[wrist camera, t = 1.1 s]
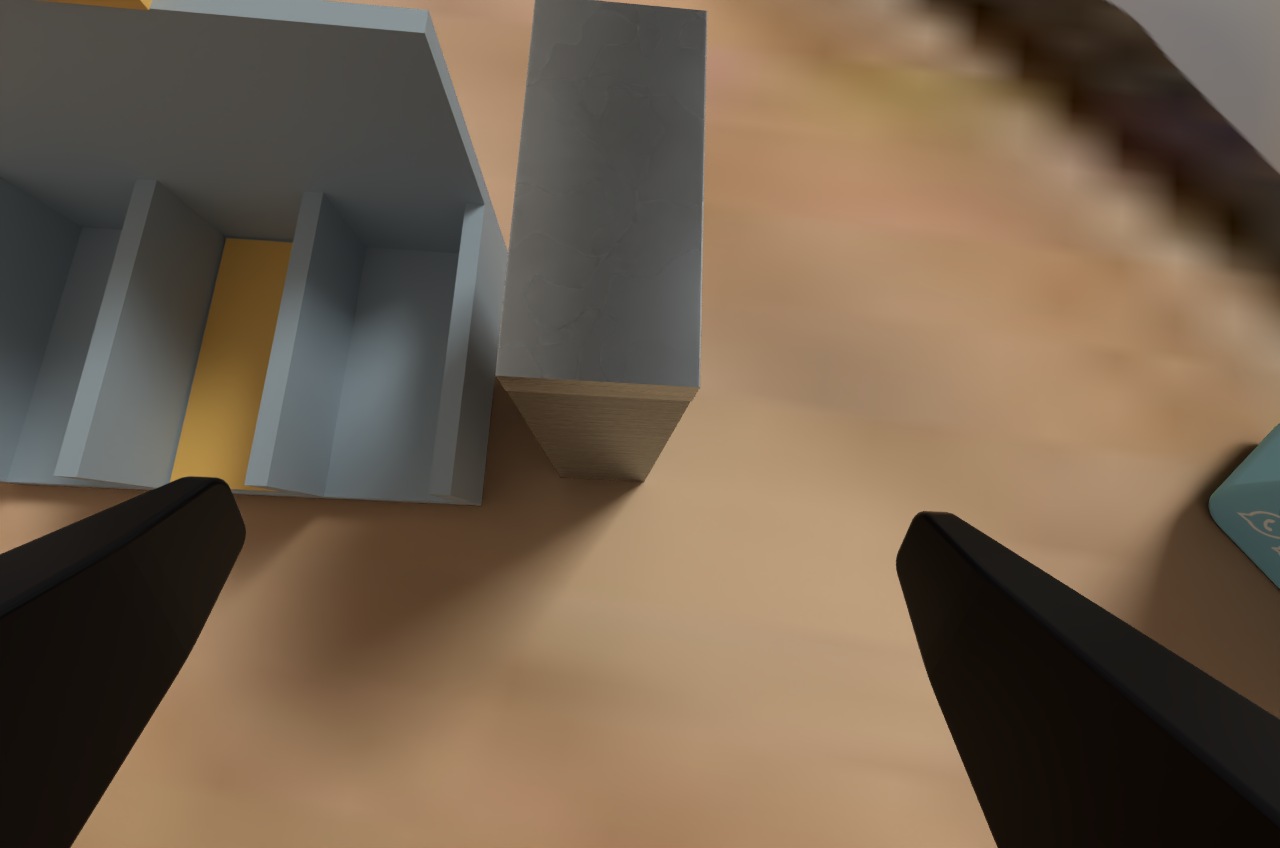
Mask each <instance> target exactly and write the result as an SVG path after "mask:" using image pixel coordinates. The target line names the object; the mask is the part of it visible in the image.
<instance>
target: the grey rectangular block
mask: <svg viewBox="0 0 1280 848" xmlns="http://www.w3.org/2000/svg"><path fill="white" fill-rule="evenodd" d="M706 46H707V11H702V10H691V9H681V8H670V7H659V6H648V5H638V4H627V3H616V2H606V1H595V0H535V5H534V15H533V24H532V34H531V43H530V53H529V62H528V72H527V81H526V91H525V100H524V110H523V119H522V129H521V138H520V148H519V157H518V167H517V176H516V186H515V195H514V205H513V214H512V223H511V233H510V242H509V252H508V261H507V271H506V280H505V290H504V299H503V309H502V318H501V328H500V337H499V347H498V356H497V366H496V375H495V376H496V377H497V379H498V380H499V382H500V383H501V385H502V387H503V388H504V390H505V391H507V393H508V394H509V396H510V397H511V399H512V401H513V402H514V404H515V405H516V407H517V409H518V410H519V412H520V413H521V415H522V417H523V418H524V420H525V421H526V423H527V425H528V426H529V428H530V429H531V431H532V433H533V434H534V436H535V437H536V439H537V441H538V442H539V444H540V445H541V447H542V449H543V450H544V452H545V453H546V455H547V457H548V458H549V460H550V461H551V463H552V465H553V466H554V468H555V469H556V471H557V473H558V474H559V476H560V477H561V478H579V479H599V480H619V481H640V482H644V481H645V479H646V477H647V476H648V474H649V472H650V471H651V469H652V467H653V465H654V464H655V462H656V460H657V458H658V457H659V455H660V453H661V452H662V450H663V448H664V446H665V445H666V443H667V441H668V439H669V438H670V436H671V434H672V433H673V431H674V429H675V427H676V426H677V424H678V422H679V420H680V419H681V417H682V415H683V414H684V412H685V410H686V408H687V407H688V405H689V403H690V401H692V400H693V399H694V397H695V395H696V393H697V392H698V390H699V388H700V360H701V307H702V255H703V203H704V151H705V98H706Z"/></svg>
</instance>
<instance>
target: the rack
mask: <svg viewBox="0 0 1280 848" xmlns="http://www.w3.org/2000/svg"><path fill="white" fill-rule="evenodd" d="M507 258H508V251H507V248H506V245H505V242H504V239H503V236H502V233H501V230H500V227H499V224H498V221H497V218H496V215H495V212H494V209H493V206H492V203H491V200H490V196H489V193H488V190H487V187H486V184H485V181H484V178H483V175H482V172H481V169H480V166H479V163H478V160H477V157H476V154H475V151H474V148H473V145H472V142H471V139H470V136H469V132H468V129H467V126H466V123H465V120H464V117H463V114H462V111H461V108H460V105H459V102H458V99H457V96H456V93H455V90H454V87H453V84H452V81H451V78H450V75H449V71H448V68H447V65H446V62H445V59H444V56H443V53H442V50H441V47H440V44H439V41H438V38H437V35H436V32H435V29H434V26H433V23H432V20H431V17H430V14H429V11H428V10H421V9H410V8H399V7H388V6H377V5H366V4H355V3H344V2H333V1H322V0H0V482H2V483H11V484H31V485H52V486H73V487H95V488H116V489H137V490H153V489H156V488H158V487H161V486H163V485H165V484H168V483H170V482H172V481H175V480H177V479H180V478H182V477H188V476H197V477H216V478H220V479H223V480H224V481H225V482H226V483H227V484H228V485H229V487H230V489H231V491H232V494H244V495H265V496H286V497H307V498H329V499H350V500H371V501H392V502H414V503H435V504H456V505H477V506H481V504H482V495H483V485H484V476H485V466H486V457H487V447H488V438H489V429H490V419H491V410H492V400H493V391H494V381H495V372H496V362H497V353H498V343H499V334H500V324H501V315H502V305H503V296H504V286H505V277H506V267H507Z"/></svg>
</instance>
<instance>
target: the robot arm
mask: <svg viewBox="0 0 1280 848" xmlns="http://www.w3.org/2000/svg"><path fill="white" fill-rule="evenodd" d="M245 536H246V530H245V524H244V522H243V519H242V517H241V514H240V511H239V509H238V506H237V504H236V501H235V499H234V496H233V494H232V491H231V489H230V487H229V485H228V484H227V483H226V482H225V481H224V480H223V479H220V478H216V477H197V476H188V477H182V478H180V479H177V480H175V481H172V482H170V483H168V484H165V485H163V486H161V487H158V488H156V489H153V490H151V491H149V492H146V493H144V494H142V495H139V496H137V497H135V498H132V499H130V500H128V501H125V502H123V503H120V504H118V505H116V506H113V507H111V508H109V509H106V510H104V511H102V512H99V513H97V514H94V515H92V516H90V517H87V518H85V519H83V520H80V521H78V522H76V523H73V524H71V525H68V526H66V527H64V528H61V529H59V530H57V531H54V532H52V533H50V534H47V535H45V536H42V537H40V538H38V539H35V540H33V541H31V542H28V543H26V544H24V545H21V546H19V547H17V548H14V549H12V550H9V551H7V552H5V553H2V554H0V848H70V847H71V846H72V844H73V843H74V841H75V839H76V838H77V836H78V835H79V833H80V831H81V830H82V828H83V826H84V825H85V823H86V822H87V820H88V818H89V817H90V815H91V814H92V812H93V810H94V809H95V807H96V805H97V804H98V802H99V801H100V799H101V797H102V796H103V794H104V793H105V791H106V789H107V788H108V786H109V785H110V783H111V781H112V780H113V778H114V776H115V775H116V773H117V772H118V770H119V768H120V767H121V765H122V764H123V762H124V760H125V759H126V757H127V755H128V754H129V752H130V751H131V749H132V747H133V746H134V744H135V743H136V741H137V739H138V738H139V736H140V735H141V733H142V731H143V730H144V728H145V726H146V725H147V723H148V722H149V720H150V718H151V717H152V715H153V714H154V712H155V710H156V709H157V707H158V705H159V704H160V702H161V701H162V699H163V697H164V696H165V694H166V693H167V691H168V689H169V688H170V686H171V685H172V683H173V681H174V680H175V678H176V676H177V675H178V673H179V671H180V670H181V668H182V666H183V665H184V663H185V661H186V659H187V658H188V656H189V654H190V652H191V650H192V648H193V646H194V645H195V643H196V641H197V639H198V637H199V635H200V633H201V631H202V629H203V627H204V625H205V623H206V621H207V619H208V617H209V615H210V613H211V611H212V609H213V606H214V604H215V602H216V600H217V598H218V596H219V594H220V592H221V590H222V588H223V586H224V584H225V582H226V580H227V578H228V576H229V574H230V572H231V570H232V568H233V566H234V564H235V561H236V559H237V557H238V555H239V553H240V551H241V549H242V547H243V544H244V541H245ZM896 570H897V574H898V578H899V581H900V585H901V588H902V591H903V595H904V598H905V601H906V605H907V608H908V612H909V615H910V618H911V622H912V625H913V629H914V632H915V635H916V639H917V642H918V646H919V649H920V652H921V656H922V659H923V662H924V665H925V668H926V671H927V674H928V677H929V680H930V683H931V685H932V688H933V691H934V693H935V696H936V698H937V701H938V703H939V706H940V708H941V710H942V713H943V715H944V718H945V720H946V723H947V725H948V728H949V730H950V732H951V735H952V737H953V740H954V742H955V745H956V747H957V750H958V752H959V754H960V757H961V759H962V762H963V764H964V767H965V769H966V772H967V774H968V776H969V779H970V781H971V784H972V786H973V789H974V791H975V794H976V796H977V798H978V801H979V803H980V806H981V808H982V811H983V813H984V816H985V818H986V820H987V823H988V825H989V828H990V830H991V833H992V835H993V838H994V840H995V842H996V845H997V847H998V848H1280V719H1278V718H1277V717H1275V716H1273V715H1272V714H1270V713H1269V712H1267V711H1265V710H1264V709H1262V708H1261V707H1259V706H1257V705H1256V704H1254V703H1253V702H1251V701H1249V700H1248V699H1246V698H1245V697H1243V696H1242V695H1240V694H1238V693H1237V692H1235V691H1234V690H1232V689H1230V688H1229V687H1227V686H1226V685H1224V684H1222V683H1221V682H1219V681H1218V680H1216V679H1214V678H1213V677H1211V676H1210V675H1208V674H1207V673H1205V672H1203V671H1202V670H1200V669H1199V668H1197V667H1195V666H1194V665H1192V664H1191V663H1189V662H1187V661H1186V660H1184V659H1183V658H1181V657H1179V656H1178V655H1176V654H1175V653H1173V652H1172V651H1170V650H1168V649H1167V648H1165V647H1164V646H1162V645H1160V644H1159V643H1157V642H1156V641H1154V640H1152V639H1151V638H1149V637H1148V636H1146V635H1145V634H1143V633H1141V632H1140V631H1138V630H1137V629H1135V628H1133V627H1132V626H1130V625H1129V624H1127V623H1125V622H1124V621H1122V620H1121V619H1119V618H1117V617H1116V616H1114V615H1113V614H1111V613H1110V612H1108V611H1106V610H1105V609H1103V608H1102V607H1100V606H1098V605H1097V604H1095V603H1094V602H1092V601H1090V600H1089V599H1087V598H1086V597H1084V596H1083V595H1081V594H1079V593H1078V592H1076V591H1075V590H1073V589H1071V588H1070V587H1068V586H1067V585H1065V584H1063V583H1062V582H1060V581H1059V580H1057V579H1056V578H1054V577H1052V576H1051V575H1049V574H1048V573H1046V572H1044V571H1043V570H1041V569H1040V568H1038V567H1036V566H1035V565H1033V564H1032V563H1030V562H1029V561H1027V560H1025V559H1024V558H1022V557H1021V556H1019V555H1017V554H1016V553H1014V552H1013V551H1011V550H1009V549H1008V548H1006V547H1005V546H1003V545H1002V544H1000V543H998V542H997V541H995V540H994V539H992V538H990V537H989V536H987V535H986V534H984V533H982V532H981V531H979V530H978V529H976V528H974V527H973V526H971V525H970V524H968V523H967V522H965V521H963V520H962V519H960V518H959V517H957V516H955V515H954V514H951V513H948V512H932V511H923V512H919V513H918V514H917V515H916V516H914V518H913V520H912V522H911V524H910V527H909V529H908V531H907V533H906V535H905V538H904V540H903V542H902V544H901V547H900V549H899V551H898V554H897V558H896Z"/></svg>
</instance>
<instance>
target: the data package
mask: <svg viewBox="0 0 1280 848" xmlns="http://www.w3.org/2000/svg"><path fill="white" fill-rule="evenodd" d="M1209 511H1210V514H1211V516H1212V518H1213V519H1214V521H1215V522H1216V523H1217V525H1218V526H1219V527H1220V528H1221V529H1222V530H1223V531H1224V532H1225V533H1226V534H1227V535H1228V536H1229V537H1230V538H1231V539H1232V540H1233V541H1234V542H1235V544H1236V545H1237V546H1238V547H1239V548H1240V549H1241V550H1242V551H1243V552H1244V553H1245V554H1246V555H1247V556H1248V557H1249V558H1250V559H1251V560H1252V561H1253V562H1254V563H1255V564H1256V565H1257V566H1258V567H1259V568H1260V569H1261V570H1262V571H1263V572H1264V574H1265V575H1266V576H1267V577H1268V578H1269V579H1270V580H1271V581H1272V582H1273V583H1274V584H1275V585H1276V586H1277V587H1278V588H1279V589H1280V424H1278V425H1277V426H1276V427H1275V428H1274V429H1273V430H1272V431H1271V432H1270V433H1269V434H1268V435H1267V436H1266V437H1265V438H1264V439H1263V440H1262V442H1261V443H1260V444H1259V445H1258V446H1257V447H1256V448H1255V449H1254V450H1253V451H1252V452H1251V453H1250V454H1249V455H1248V456H1247V458H1246V459H1245V460H1244V461H1243V462H1242V463H1241V464H1240V465H1239V466H1238V467H1237V468H1236V469H1235V470H1234V471H1233V472H1232V474H1231V475H1230V476H1229V477H1228V478H1227V479H1226V480H1225V481H1224V482H1223V483H1222V484H1221V485H1220V486H1219V487H1218V488H1217V490H1216V491H1215V492H1214V493H1213V494H1212V495H1211V497H1210V499H1209Z"/></svg>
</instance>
